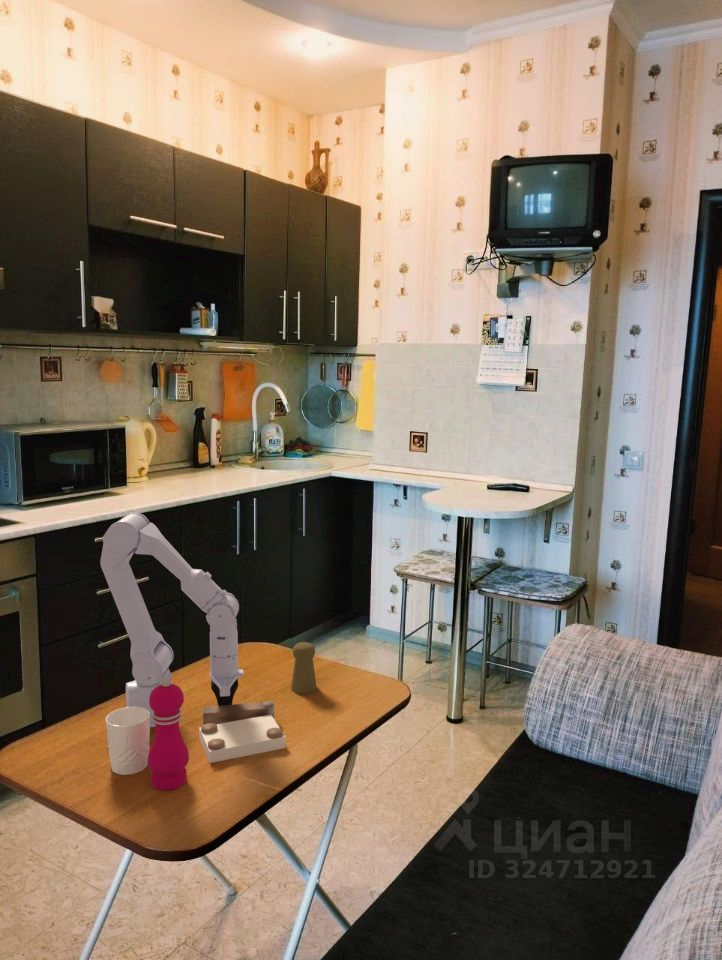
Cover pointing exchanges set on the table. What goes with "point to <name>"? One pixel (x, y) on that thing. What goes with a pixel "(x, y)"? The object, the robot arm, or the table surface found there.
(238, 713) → the folding leg
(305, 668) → the cork
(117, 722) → the white cup
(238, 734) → the stool seat
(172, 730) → the pepper mill
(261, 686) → the table surface
